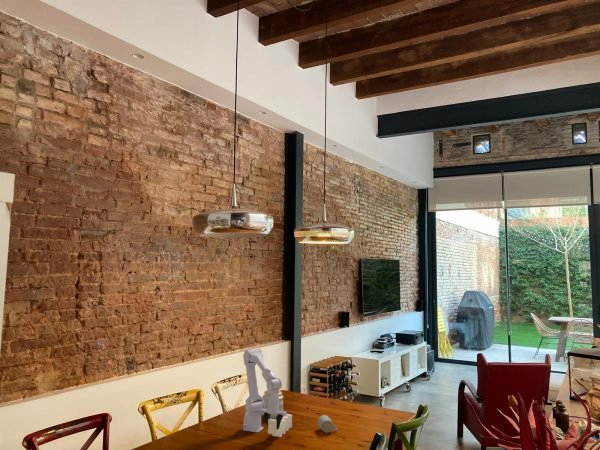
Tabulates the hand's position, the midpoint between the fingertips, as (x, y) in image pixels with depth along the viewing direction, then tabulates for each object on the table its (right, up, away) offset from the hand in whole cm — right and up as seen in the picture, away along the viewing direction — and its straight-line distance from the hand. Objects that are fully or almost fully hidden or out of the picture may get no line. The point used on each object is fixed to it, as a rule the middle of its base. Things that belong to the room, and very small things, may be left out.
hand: (273, 428), depth 245 cm
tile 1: (+7, -8, +19) cm, 22 cm away
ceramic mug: (+30, -8, +15) cm, 35 cm away
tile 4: (+2, -6, +5) cm, 8 cm away
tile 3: (+4, -7, +10) cm, 13 cm away
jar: (-3, -10, +38) cm, 40 cm away
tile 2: (+5, -7, +14) cm, 17 cm away
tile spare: (0, -3, 0) cm, 3 cm away
